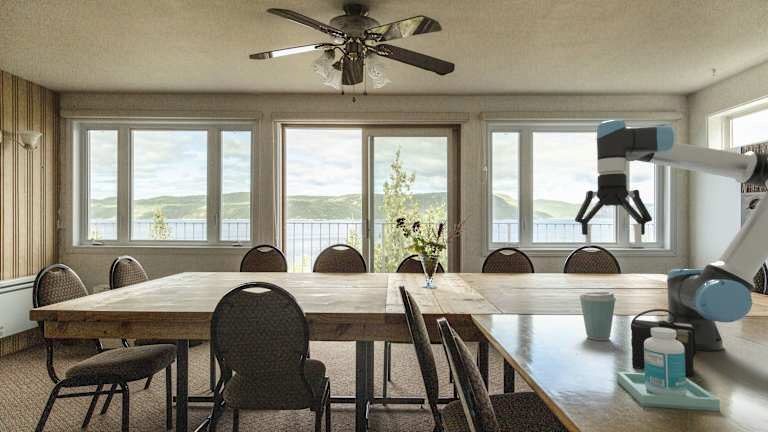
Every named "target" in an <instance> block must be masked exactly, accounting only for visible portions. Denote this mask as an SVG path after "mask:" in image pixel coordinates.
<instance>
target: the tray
mask: <svg viewBox="0 0 768 432" xmlns="http://www.w3.org/2000/svg"><path fill="white" fill-rule="evenodd" d="M616 381H617V382H618V384H620V386H621V387H622V388H623V389H625V391H626V392H628V393H629V394H630V395H631V396H632V397H633V398H634V400H636V401H637V402H638V403H639V404H640V405H641V406H642V407H651V408H667V409H679V410H680V409H682V410H694V411H695V410H697V411H714V412H721V411H720V410H721V400H720V399H719V398H717V396H714V395H713V394H712V393H710V392H709V391H707V390H705V389H704V388H702V387H701V386H700V385H698V384H696V383H695V382H694V381H692V380H691V379H689V378H688V377H686V394H685V395H684V396H676V395H659V394H654V393H652V392H650V391H649V390H647V388H646V386H645V372H627V371H626V372H625V371H616Z"/></svg>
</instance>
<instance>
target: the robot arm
mask: <svg viewBox="0 0 768 432" xmlns="http://www.w3.org/2000/svg"><path fill="white" fill-rule="evenodd" d="M596 149H597V150H596V153H597V161H596V162H597V166H596V167H597V174H598V175H597V190H596V191H593V190H588V191H586V193H585V199H584V201H583V203H582V205H581V207H580V209H579V210H578V212H577V214H576V217H575V218H574V221H575V222H576V223H579V224H581V234H582V235H583V236H585V247H592V228H591V227H592V226H591V223H590V224H589V222H590V221H591V220H592V219H593V218H594V216H595V215H596V214H597V213H598V212H599V211H600V210H601V209H602V208H603V207H604V206H606V207H610V206H613V207H618V206H620V207H622V208H623V209H624V210H625V211H626V212H627V213H628V214H629V215H630V216H631V218H633V220H635V222H637V223H634V246H635V247H639V248H640V247H641V248H642V244H643V243H642V240H643V239H642V236H644V235H645V233H646V227H645V226H646V223H648V222H652V221H653V218H652V216H651V214H650V213H649V211H648V209H647V208H646V206H645V204H644V202H643V200H642V199H641V195H640V191H639V190H638V189H635V190H628V185H627V182H628V181H627V180H628V178H627V174H626V173H627V162H634V161H636V162H643V163H649V164H653V165H654V164H655V165H658V166H659V165H661V166H666V167H672V168H675V169H676V168H677V169H682V170H688V171H693V172H698V173H704V174H708V175H714V176H719V177H725V178H730V179H734V180H735V182H737V183H739V184H742V185H743V184H744V185H749V186H754V187H758V188H763V189H767V191H766V192H765V193H764V195H763V196H762V198H761V200H760V201H759V202H758V203H757V204H756V206H755V208H754V209H753V211H752V212H751V213H750V215H749V216H748V217H747V219H746V221H745V222H744V224H742V226H741V228H740V229H739V230H738V232H737V233H736V235H735V236H734V237H733V239H732V240H731V241H730V243H729V245H727V247H726V249H725V250H724V251H723V253H722V254H721V255H720V257H719V258H718V260H717V261H715V262H711V263H707V264H706V266H705V267H704V268H702V269H700V268H698V269H696V268H695V269H693V268H691V269H690V268H686V269H685V268H684V269H683V268H681V269H680V268H679V269H670V270H669V271H667V279H666V282H667V310H670V311H672V312H673V313H674V315H675V322H681V323H690V324H692V326H693V328H694V330H695V343H696V351H704V352H706V351H707V352H711V351H712V352H713V351H714V352H715V351H721V350H723V348H724V345H723V343H724V342H723V338H722V336H721V333H720V332H719V328H718V326H717V324H716V322H718V323H723V324H724V323H725V324H726V323H735V322H737V321H740V320H742V319H744V318H745V317H746V316H747V315H748V314H749V313H750V312H751V310H752V307H753V299H752V293H753V291H754V290H755V288H756V285H755V282H754V277H755V276H756V275H757V273H758V272H759V270H760V269H761V268H762V266H763V265H764V264H765V262H766V261H767V260H768V152H756V151H748V152H746V153H740V152H736V151H728V150H722V149H717V148H710V147H704V146H699V145H694V144H688V143H687V144H686V143H681V142H675V132H674V130H673V128H672V127H671V126H669V125H655V126H641V127H638V126H637V127H627V125H626V122H625V121H624V120H620V119H614V120H613V119H611V120H606V121H602V122H600V123H599V124H598V125H597V128H596ZM628 196H629V198H631V199H632V202H633V203H634V205H635V207H636V208H637V210H638V211H637V210H636V209H635V208H634V207H633V206H632V205H631V204H630V202H629V201H628V200H627V197H628ZM595 197H597V199H598V201H597V202H596V204H595V205H594V206H593V207H592V208H591V209H590V210H589V212H588V213H587V214H586V212H587V210H588V209H589V206H590V204H591V203H592V200H593V199H595ZM667 313H668V314H667V315H668V316H667V319H666V321H672V320H673V319H674V316H673V315H672V314H671V313H669V312H667Z"/></svg>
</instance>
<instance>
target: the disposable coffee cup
mask: <svg viewBox="0 0 768 432" xmlns="http://www.w3.org/2000/svg"><path fill="white" fill-rule="evenodd" d="M579 299H580V305H581V309H582V316H583V322H584V328H585V334H586V336H587V338H588V339H589V340H594V341H609V340H610V337H611V332H612V325H613V319H614V313H615V312H614V311H615V305H616V304H615V303H616V301H617V300H616V299H617V298H616V296H615V294H614V292H611V291H590V292H583V293H581V294H580V296H579Z"/></svg>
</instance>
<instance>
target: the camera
mask: <svg viewBox="0 0 768 432" xmlns="http://www.w3.org/2000/svg"><path fill="white" fill-rule="evenodd" d="M653 312H654V313H655V312H663V313H664V312H665V313H668V312H669V313H671V314H672V315H673V316H674V319H673V320H672V321H667V320H658V321H655V320H653V321H652V320H643V319H642V320H641V319H638V318H639V317H641V316H643V315H645V314H648V313H653ZM654 327H661V328H669V329H673V330H676V335H677V336H676V338H675V340H677V341H679V342H681V343H682V344H683V346H684V349H685V375H686V376H688V377H689V376H690V377H692V376H694V374H695V371H694V369H695V368H694V367H695V366H694V360H695V356H697V350H696V343H695V330H694V328H693V326H692V324H690V323H681V322H675V315H674V313H673V312H672V311H670V310H668V309H665V308H654V309H648V310H644V311H642V312H640V313H639V314H637V315H636V316H635V317H634V318H633V319H632V320H631V323H630V330H631V339H630V341H631V342H630V343H631V364H632V365H631V366H632V368H637V369H640V370H641V369H642V370H645V364H644V342H645V340H646V339H648V338H651V337H652V335H651V328H654Z"/></svg>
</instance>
